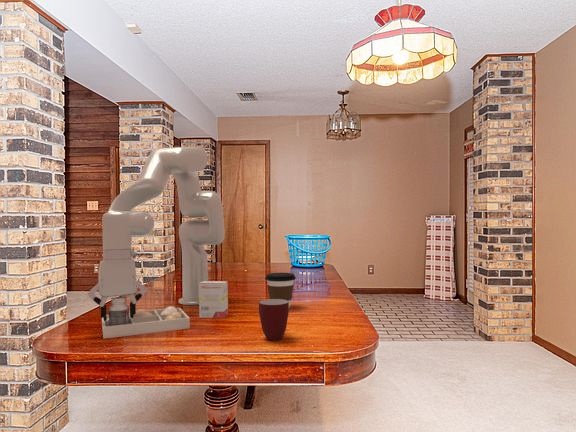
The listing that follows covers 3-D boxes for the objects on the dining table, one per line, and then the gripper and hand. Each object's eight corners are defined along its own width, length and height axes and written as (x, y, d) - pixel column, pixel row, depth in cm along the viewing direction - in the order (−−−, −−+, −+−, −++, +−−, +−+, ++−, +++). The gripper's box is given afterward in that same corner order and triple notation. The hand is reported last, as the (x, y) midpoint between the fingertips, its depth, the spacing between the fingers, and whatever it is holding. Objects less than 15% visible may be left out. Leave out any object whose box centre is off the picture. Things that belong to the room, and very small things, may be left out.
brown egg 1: (130, 324, 135) (130, 309, 135) (141, 320, 139) (141, 307, 139) (146, 326, 132) (146, 312, 132) (157, 323, 136) (157, 309, 136)
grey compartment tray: (179, 318, 144) (179, 307, 144) (189, 330, 130) (189, 317, 130) (101, 327, 135) (101, 315, 134) (103, 340, 120) (103, 327, 120)
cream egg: (169, 318, 142) (168, 304, 142) (180, 319, 141) (180, 305, 141) (156, 323, 136) (155, 309, 136) (168, 324, 135) (167, 310, 135)
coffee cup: (302, 307, 158) (302, 274, 158) (281, 313, 150) (280, 277, 150) (280, 303, 165) (279, 271, 165) (259, 308, 157) (258, 274, 157)
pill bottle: (131, 332, 125) (130, 297, 125) (111, 335, 122) (110, 300, 122) (126, 329, 129) (126, 295, 130) (107, 332, 126) (106, 297, 127)
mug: (260, 332, 126) (260, 297, 126) (289, 332, 126) (288, 297, 126) (258, 343, 116) (257, 305, 116) (289, 343, 116) (288, 304, 116)
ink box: (228, 316, 147) (228, 280, 146) (224, 319, 142) (224, 282, 142) (203, 315, 148) (203, 280, 148) (198, 319, 143) (198, 282, 143)
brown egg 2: (171, 323, 135) (171, 309, 135) (184, 324, 134) (184, 309, 134) (160, 329, 129) (160, 314, 129) (173, 330, 128) (173, 315, 128)
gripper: (147, 252, 132) (148, 312, 132) (83, 255, 125) (85, 319, 125) (150, 254, 125) (151, 318, 126) (83, 258, 118) (84, 325, 119)
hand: (118, 318), depth 126 cm, fingers open, 6 cm apart
